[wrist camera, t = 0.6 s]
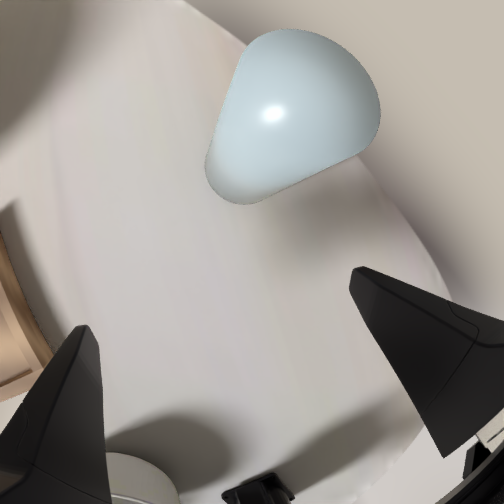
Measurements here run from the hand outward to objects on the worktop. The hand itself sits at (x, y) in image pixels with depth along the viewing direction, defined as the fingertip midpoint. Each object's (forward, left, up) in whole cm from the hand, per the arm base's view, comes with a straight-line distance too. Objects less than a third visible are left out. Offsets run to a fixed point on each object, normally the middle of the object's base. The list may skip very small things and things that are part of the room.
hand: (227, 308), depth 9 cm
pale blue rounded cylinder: (+6, -6, -13) cm, 16 cm away
